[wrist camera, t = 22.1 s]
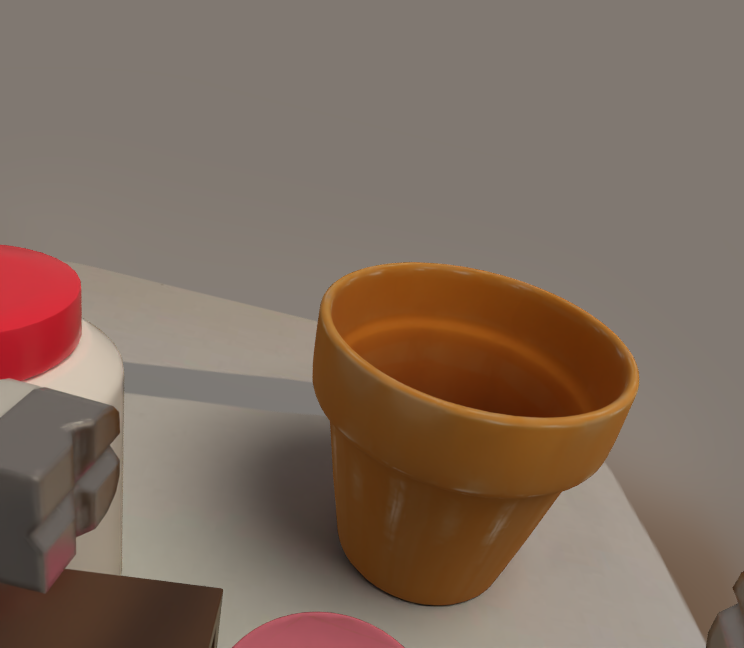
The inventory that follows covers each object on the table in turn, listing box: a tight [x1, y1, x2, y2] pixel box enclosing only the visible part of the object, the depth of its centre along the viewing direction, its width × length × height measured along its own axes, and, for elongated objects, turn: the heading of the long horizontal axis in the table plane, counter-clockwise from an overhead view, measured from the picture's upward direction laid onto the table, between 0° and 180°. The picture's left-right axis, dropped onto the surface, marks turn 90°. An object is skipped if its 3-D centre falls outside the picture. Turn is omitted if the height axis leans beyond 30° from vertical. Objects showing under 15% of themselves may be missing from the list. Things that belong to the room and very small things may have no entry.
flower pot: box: [313, 262, 639, 605], centre depth 34 cm, size 14×14×13 cm
